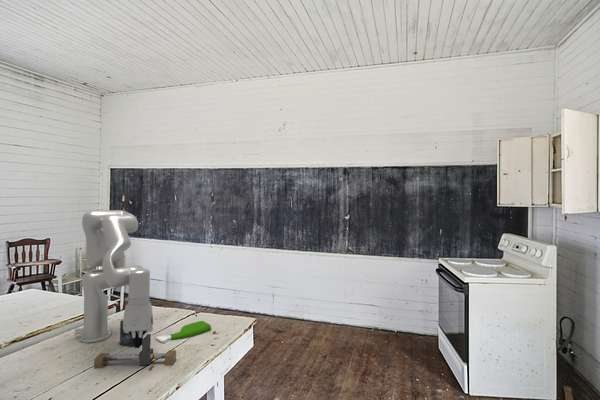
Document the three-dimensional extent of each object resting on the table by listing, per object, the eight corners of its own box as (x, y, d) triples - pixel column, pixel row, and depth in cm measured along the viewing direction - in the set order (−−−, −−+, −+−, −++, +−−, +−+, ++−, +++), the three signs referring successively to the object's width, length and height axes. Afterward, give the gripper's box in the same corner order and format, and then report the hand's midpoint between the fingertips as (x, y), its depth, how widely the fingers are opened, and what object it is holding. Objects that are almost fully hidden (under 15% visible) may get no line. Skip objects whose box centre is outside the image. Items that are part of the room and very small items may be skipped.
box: (119, 344, 144) (119, 321, 144) (129, 339, 149) (130, 316, 149) (133, 347, 142) (133, 323, 142) (143, 342, 147) (143, 319, 147)
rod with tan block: (89, 373, 120) (89, 363, 120) (104, 357, 132) (104, 348, 132) (170, 369, 124) (170, 359, 124) (178, 354, 136) (178, 345, 136)
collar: (137, 366, 125) (138, 340, 125) (143, 358, 131) (143, 334, 131) (148, 365, 126) (149, 340, 126) (153, 358, 131) (154, 333, 132)
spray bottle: (212, 331, 162) (164, 347, 144) (201, 325, 169) (154, 339, 151) (212, 325, 162) (164, 340, 144) (201, 319, 169) (154, 333, 151)
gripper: (114, 303, 123) (113, 351, 123) (155, 303, 125) (154, 350, 125) (123, 298, 131) (122, 343, 131) (161, 297, 133) (160, 342, 132)
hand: (138, 346), depth 128 cm, fingers closed
